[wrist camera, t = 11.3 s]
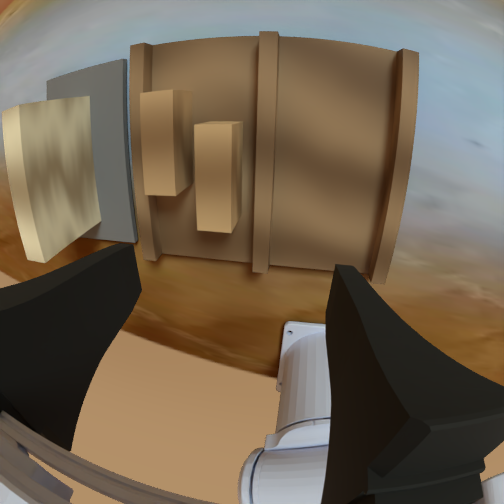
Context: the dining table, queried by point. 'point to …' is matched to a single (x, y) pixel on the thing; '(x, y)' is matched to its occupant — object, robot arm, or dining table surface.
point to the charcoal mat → (105, 144)
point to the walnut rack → (288, 148)
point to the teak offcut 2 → (218, 174)
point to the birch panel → (51, 173)
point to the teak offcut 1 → (166, 141)
